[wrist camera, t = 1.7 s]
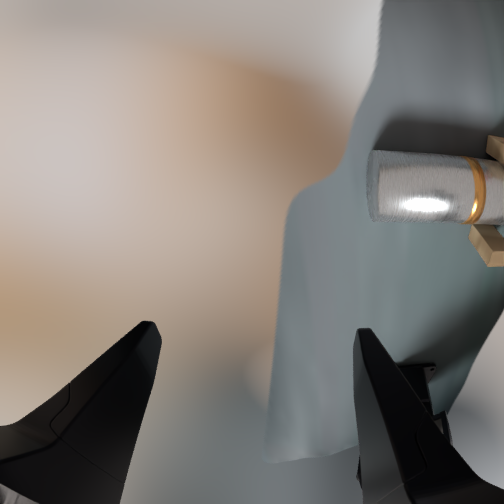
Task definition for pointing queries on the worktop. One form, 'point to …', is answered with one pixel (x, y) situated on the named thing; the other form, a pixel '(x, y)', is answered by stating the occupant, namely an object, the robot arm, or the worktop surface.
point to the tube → (434, 188)
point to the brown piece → (486, 235)
